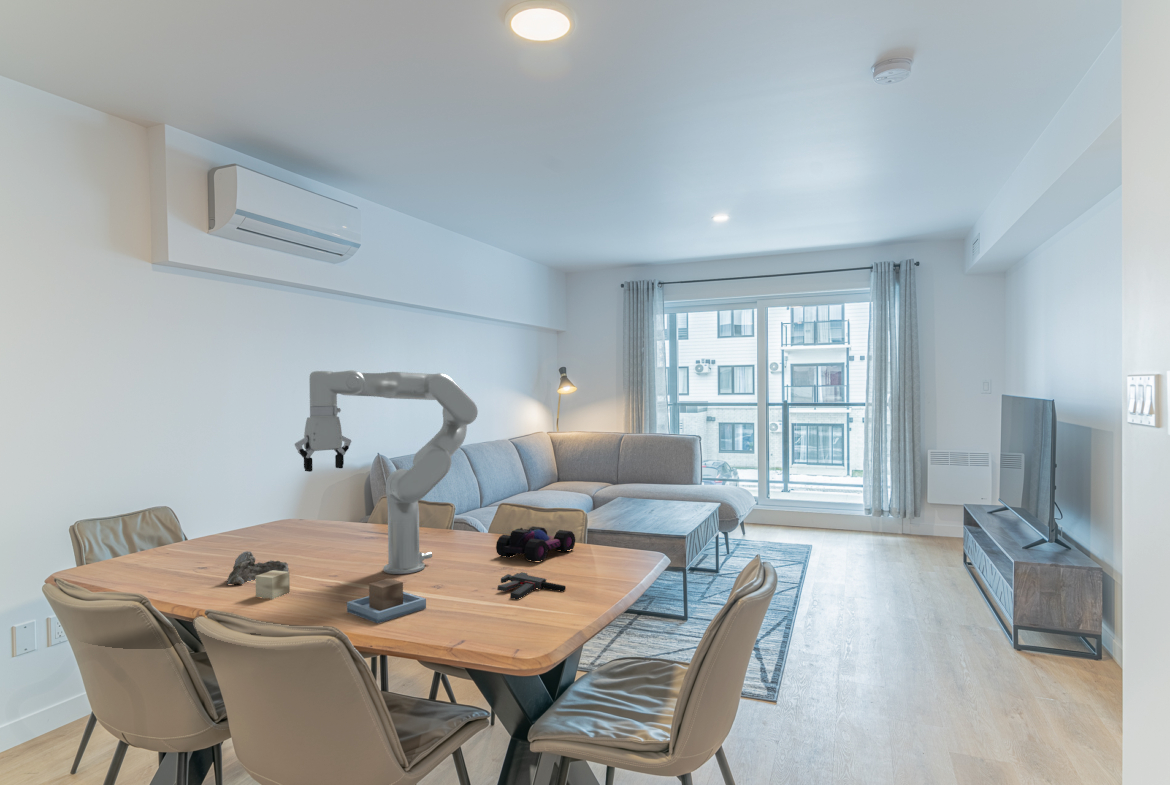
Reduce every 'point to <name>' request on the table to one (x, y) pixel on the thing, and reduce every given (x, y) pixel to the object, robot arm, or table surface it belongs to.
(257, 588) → the oak cube
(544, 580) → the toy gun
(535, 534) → the toy car
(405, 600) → the tray
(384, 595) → the walnut cube
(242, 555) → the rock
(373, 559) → the table surface
